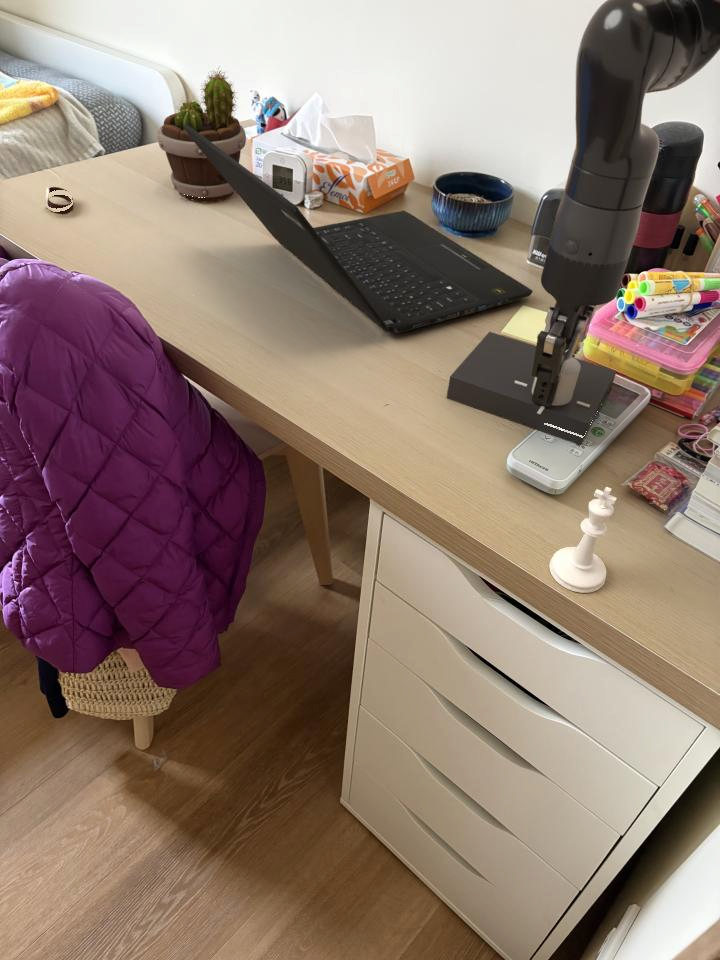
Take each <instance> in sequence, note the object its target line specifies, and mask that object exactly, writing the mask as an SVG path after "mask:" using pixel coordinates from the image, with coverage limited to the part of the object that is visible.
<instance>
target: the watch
mask: <svg viewBox="0 0 720 960" xmlns="http://www.w3.org/2000/svg"><path fill="white" fill-rule="evenodd" d="M54 190H55V191H56V190H65V191H68V190H66V189H65V188H62V187H59V186H58V187H57V186H47V187H46V188H45V200H46V201H45V202H44V203H47V204H48V206H49V207H51V208H56V209H57V208H63V207H66V206H68V205H70V204H71V203H72V202H71V199H70V198H69V197H68V196H65V195H54V196H52V197H51V198H61V199H62V200H65V201H67V202H68V203H67V204H58V203H54V202H52V201H51V200H50V198H49V193H50V192H52V191H54ZM70 202H71V203H70ZM44 209H46V210H49V209H48V208H47V207H45V206H44ZM72 211H74V204H73V205H72V206H71V207H70V208H69V209H67V210H65V211H60V212H53V211H50V212H51V213H53V214H56V215H68V214H70V213H72Z"/></svg>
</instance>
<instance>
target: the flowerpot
mask: <svg viewBox="0 0 720 960" xmlns="http://www.w3.org/2000/svg"><path fill="white" fill-rule="evenodd" d="M220 67H221V65H219V66H218V68H217V71H215V70H214V69H212V70H209V72H211V73H212V74H211V75H210V74H208V75H206V76H207V77H206V78H205V79H206V80H205V79H204V80H203V82H204V83H203V84H200V87H201V88H200V89H199V91H203V93H200V94H199V95H200V96H199V99H200V101H198V102H197V101H193V100H194V97H192V98H191V99H187V100H185V101H184V100H183V101H181V103H182V105H181V104H179V106H175V108H176V109H177V110H178V112H174V113H173V114H170V115H168V116H167V117H165V119H164V120H163V124H162V125H161V126H160V127H159V128H158V129H157V132H156V135H157V142H158V146H159V148H160V149H161V150H162V151H164V152H165V155H166V159H167V161H168V165H169V167H170V169H171V174H170V180H171V183H172V186H173V188H174V190H175V191H177V192H178V194H179V195H180V196H183V197H184V199H185V200H187V201H193V202H196V203H216V202H220V201H222V202H223V201H225V200H227V199H228V200H229V199H230V198H231V197H233V196H234V195H235V193H236V192H235V191H234V189H233V188H232V187H231V186H230V185H229V184H228V182H227V181H226V180H225V179H224V178H223V176H222V175H221V174H220V173H219V172H218V170H217V169H216V168H215V167H214V166H213V164H212V163H211V162H210V161H209V159H208V158H207V157H206V156H205V155H204V153H203V152H202V151H201V150H200V149H199V147H198V146H197V145H196V144H195V142H194V141H193V140H192V139H191V138H190V136H189V135H188V133H187V131H186V130H185V129H184V125H185V124H187V125H189V126H190V127H191V128H193V129H194V130H196V131H197V132H198V133H199V134H201V135H202V136H204V137H205V138H206V139H208V140H209V141H210V142H212V143H213V144H214V145H216V146H217V147H218V148H220V149H221V150H222V151H224V152H225V153H226V154H227V155H229V156H230V157H231V158H233V159H234V160H235V161H237V162H238V163H239V164H240V160H241V152H242V150H243V149H244V147H245V146H246V143H247V136H246V135H247V134H246V131H245V128H244V126H242V125H241V124H240V121H239V119H238V118H236V117H235V115H236V111H237V110H238V109H237V108H236V107H237V100H236V99H239V98H238V97H237V96H236V94H238V92H236V91H234V89H233V85H234V82H230V80H229V81H228V80H227V79H230V78H229V76H225V75H226V72H225V71H223V72H222V70H219V69H220ZM184 98H185V99H186V97H184V96H183V99H184ZM199 102H200V103H199ZM202 104H203V105H202ZM201 105H202V106H201ZM204 106H205V107H204ZM233 113H234V114H233ZM184 194H185V195H184ZM187 195H188V196H187ZM192 196H193V197H192ZM198 197H200V198H198ZM201 197H203V198H201ZM204 197H205V198H204Z"/></svg>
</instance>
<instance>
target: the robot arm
mask: <svg viewBox="0 0 720 960" xmlns="http://www.w3.org/2000/svg"><path fill="white" fill-rule="evenodd" d="M719 51H720V0H606V1H604V2H603V3H602V4H601V5H600V6H599V7H598V8H597V9H596V10H595V12H594V13H593V15H592V16H591V18H590V19H589V21H588V23H587V25H586V27H585V29H584V31H583V34H582V37H581V39H580V41H579V45H578V50H577V54H576V62H575V113H574V114H575V117H574V118H575V119H574V120H575V121H574V122H575V147H574V151H573V154H572V158H571V161H570V166H569V170H568V174H567V179H566V183H565V187H564V191H563V195H562V197H561V200H560V202H559V205H558V208H557V210H556V213H555V217H554V221H553V225H552V229H551V235H550V239H549V242H548V247H547V251H546V255H545V260H544V263H543V267H542V272H541V277H540V283H541V286H542V288H543V289H544V290H545V292H546V293H547V294H549V295H550V296H551V297H553V299H554V300H555V304H554V305H550V306H549V308H548V311H547V313H546V316H545V319H544V322H545V328H544V330H540V332H539V333H538V334H537V337H536V338H537V340H536V345H535V346H536V351H535V358H534V364H533V369H532V376H534V377H537V380H536V384H535V388H534V392H533V396H532V401H533V402H534V403H536V404H539V405H542V406H545V407H550V406H551V405H552V403H553V401H554V398H555V394H556V391H557V387H558V384H559V380H560V378H561V377H562V375H563V373H562V372H563V369H564V367H565V364H566V361H567V360H569V359H570V358H572V357H573V358H576V355H577V354H578V352H580V351H581V345H582V344H581V343H583V342H584V341H585V340H586V339H587V335H588V333H589V329H590V325H591V322H592V320H593V319H594V316H595V315H596V310H597V306H601V305H605V304H608V303H610V302H612V301H613V300H614V299H615V298H616V297H617V296H618V294H619V290H620V287H621V285H622V282H623V278H624V274H625V272H626V269H627V265H628V263H629V259H630V256H631V254H632V253H631V252H632V249H633V247H634V244H635V240H636V238H637V234H638V231H639V227H640V221H641V216H642V209H643V207H644V202H645V199H646V196H647V193H648V190H649V186H650V183H651V180H652V177H653V174H654V170H655V168H656V165H657V160H658V157H659V151H660V139H659V138H660V137H659V135H658V134H657V132H655V130H654V129H653V128H651V127H650V126H649V125H646V124H644V123H642V115H643V114H642V113H643V105H644V99H645V96H646V94H649V93H657V92H663V91H668V90H672V89H674V88H676V87H678V86H680V85H682V84H684V83H685V82H687V81H688V80H689V79H691V78H692V77H694V76H695V75H696V74H697V73H699V72H700V71H701V70H702V69H703V68H705V66H707V65H708V64H709V63H710V62H711V61H712V59H713V58H714V57H715V56H716V55H717V54H718V52H719Z"/></svg>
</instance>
